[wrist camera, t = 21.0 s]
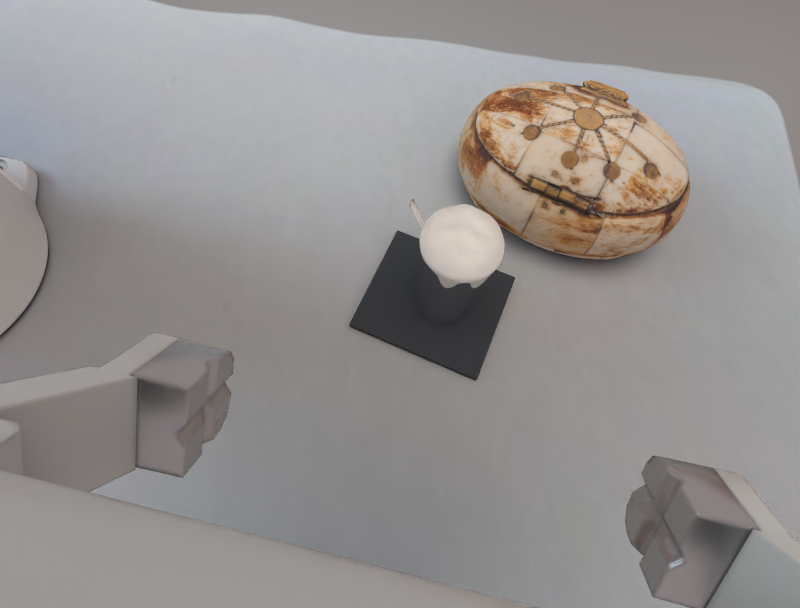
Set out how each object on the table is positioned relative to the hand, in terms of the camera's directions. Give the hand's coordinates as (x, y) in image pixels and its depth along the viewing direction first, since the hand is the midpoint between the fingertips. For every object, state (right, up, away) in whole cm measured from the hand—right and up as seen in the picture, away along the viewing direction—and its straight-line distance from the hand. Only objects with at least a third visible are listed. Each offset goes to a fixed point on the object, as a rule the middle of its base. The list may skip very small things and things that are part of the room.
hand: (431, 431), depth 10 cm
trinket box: (+11, +11, +29) cm, 33 cm away
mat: (+2, +3, +25) cm, 25 cm away
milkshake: (+2, +3, +24) cm, 25 cm away
